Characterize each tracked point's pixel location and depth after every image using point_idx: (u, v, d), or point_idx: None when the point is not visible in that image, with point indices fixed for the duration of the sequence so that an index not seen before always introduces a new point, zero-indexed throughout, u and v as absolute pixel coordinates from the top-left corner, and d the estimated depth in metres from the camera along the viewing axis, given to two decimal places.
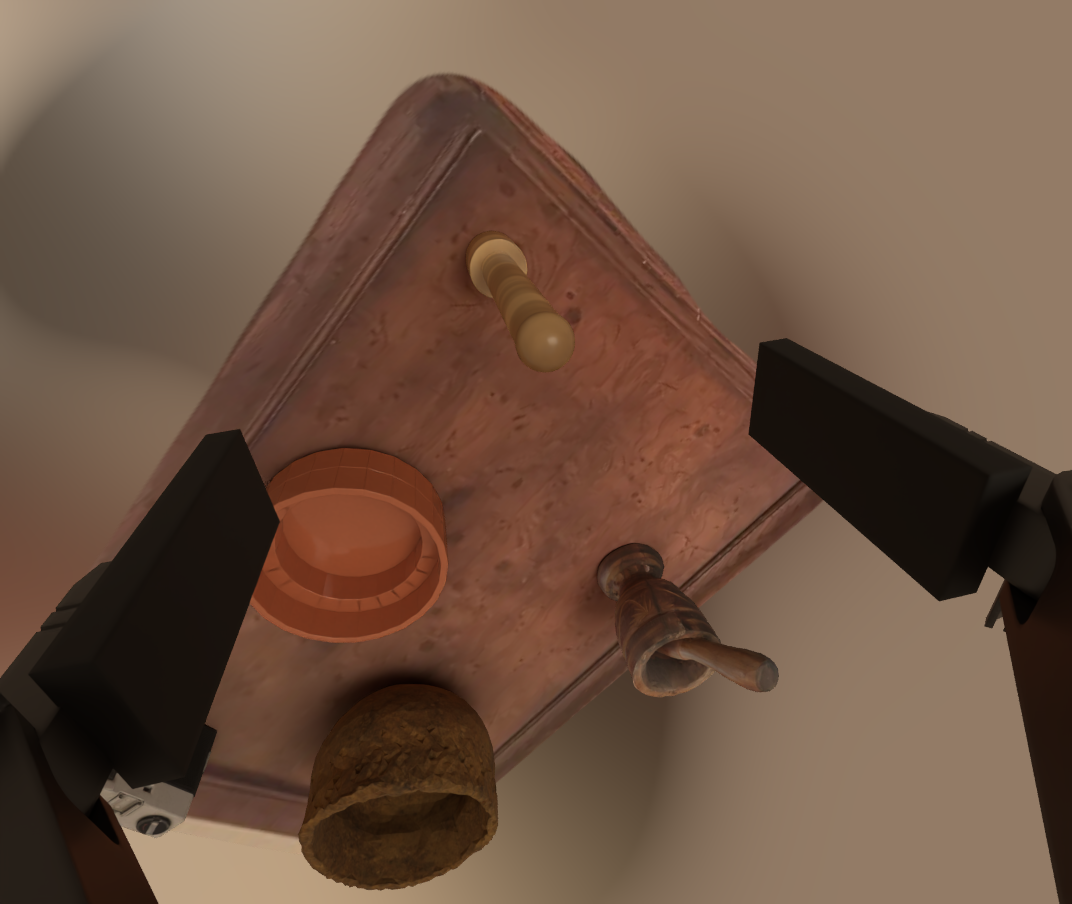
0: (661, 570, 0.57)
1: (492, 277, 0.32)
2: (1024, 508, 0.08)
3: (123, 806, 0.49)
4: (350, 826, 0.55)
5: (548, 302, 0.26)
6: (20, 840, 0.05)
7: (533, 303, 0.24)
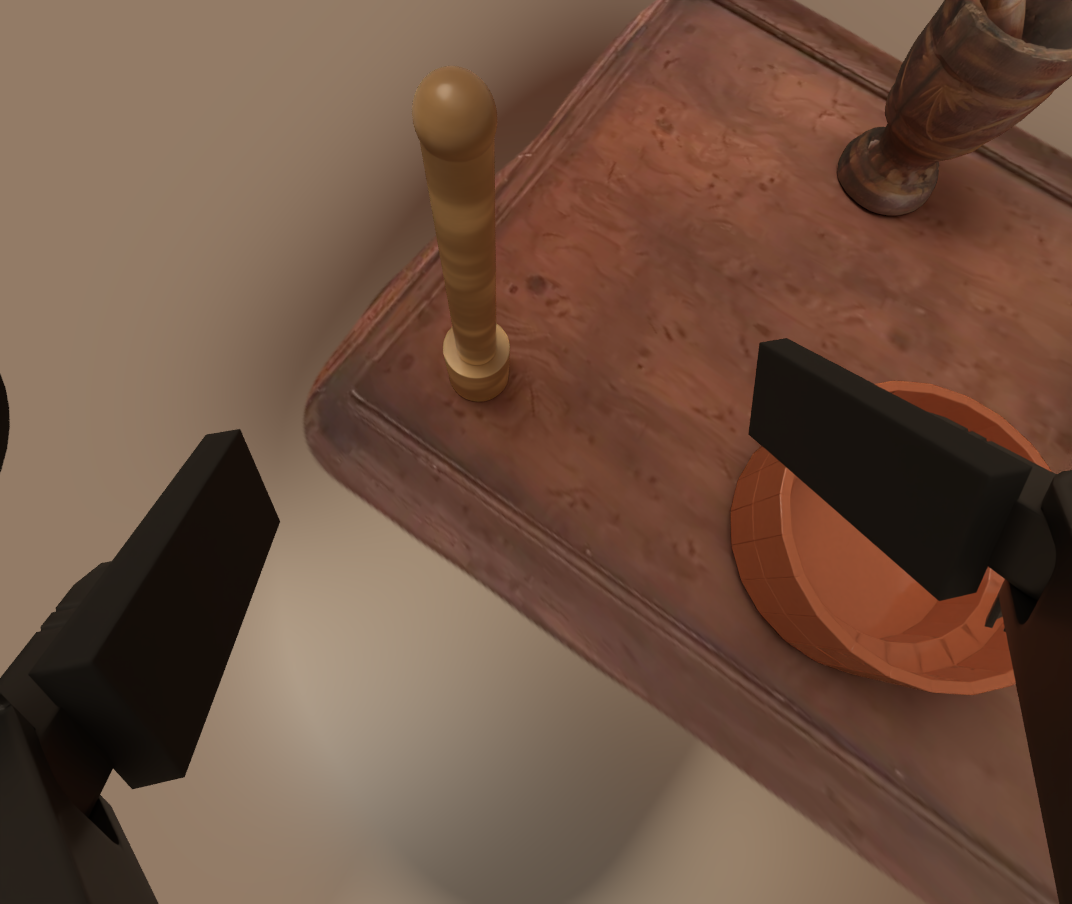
0: (875, 128, 0.41)
1: (461, 319, 0.26)
2: (1023, 508, 0.08)
3: None
4: None
5: None
6: (20, 840, 0.05)
7: (425, 172, 0.18)
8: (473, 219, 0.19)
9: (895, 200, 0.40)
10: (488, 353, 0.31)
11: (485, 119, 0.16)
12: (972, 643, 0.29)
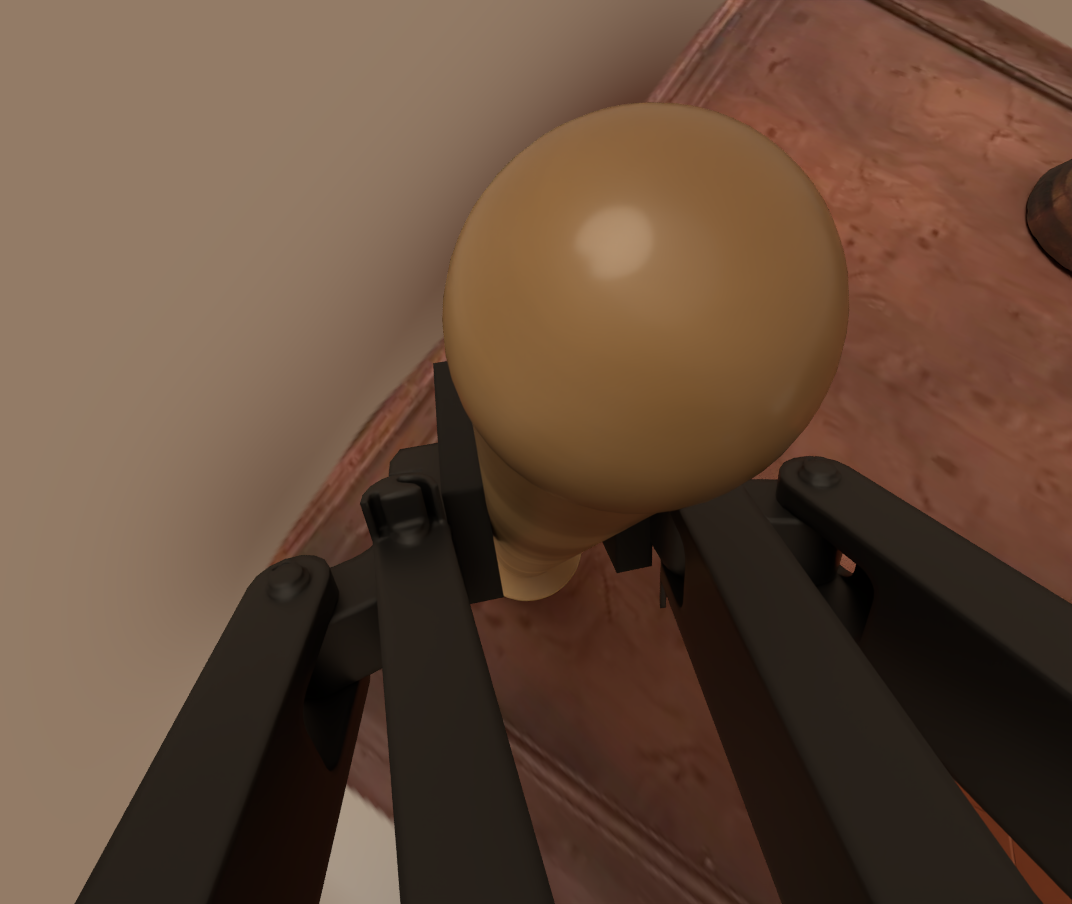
0: None
1: (517, 566, 0.14)
2: None
3: None
4: None
5: None
6: (451, 617, 0.07)
7: (477, 442, 0.05)
8: (610, 536, 0.07)
9: None
10: None
11: None
12: None
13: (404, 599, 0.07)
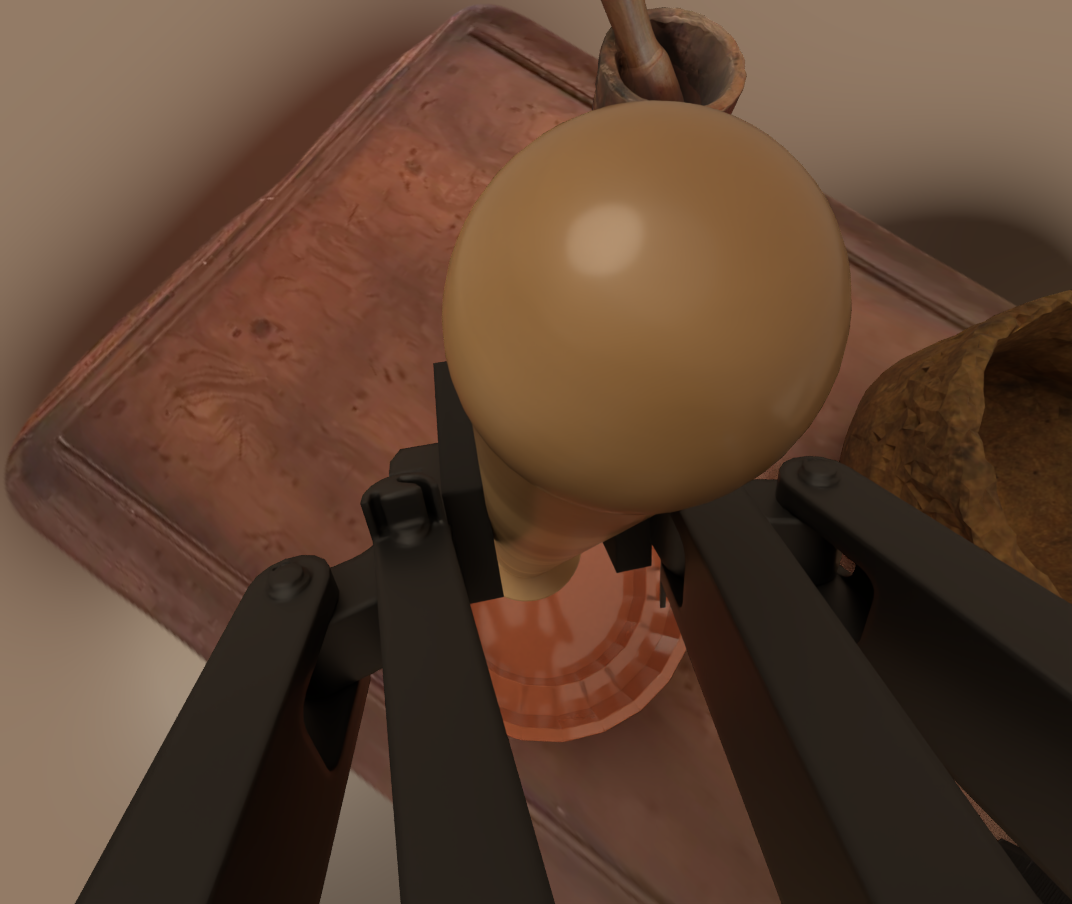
0: None
1: (517, 567, 0.14)
2: None
3: None
4: None
5: None
6: (451, 617, 0.07)
7: (476, 442, 0.05)
8: (610, 536, 0.07)
9: None
10: None
11: (829, 376, 0.03)
12: (611, 685, 0.30)
13: (404, 599, 0.07)
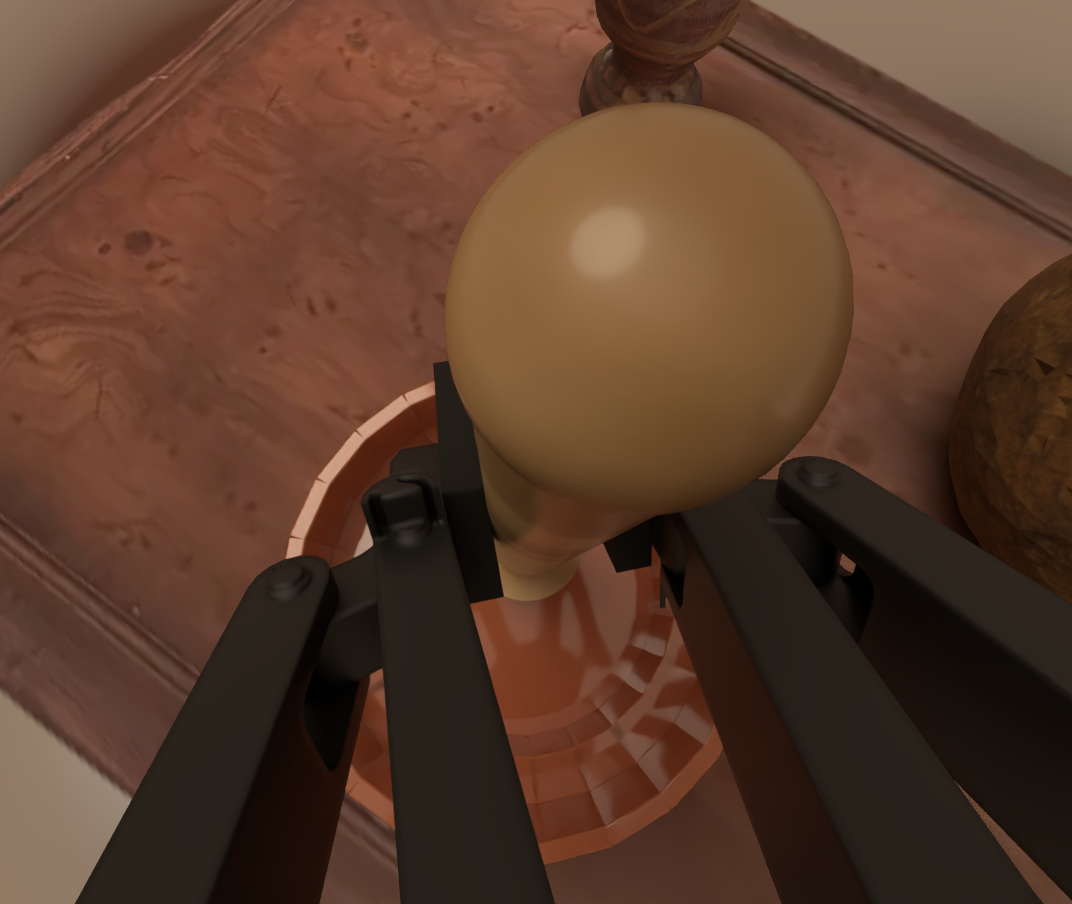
0: None
1: (517, 567, 0.14)
2: None
3: None
4: None
5: None
6: (451, 617, 0.07)
7: (478, 443, 0.05)
8: (611, 537, 0.07)
9: None
10: None
11: (831, 378, 0.03)
12: (623, 755, 0.20)
13: (405, 599, 0.07)
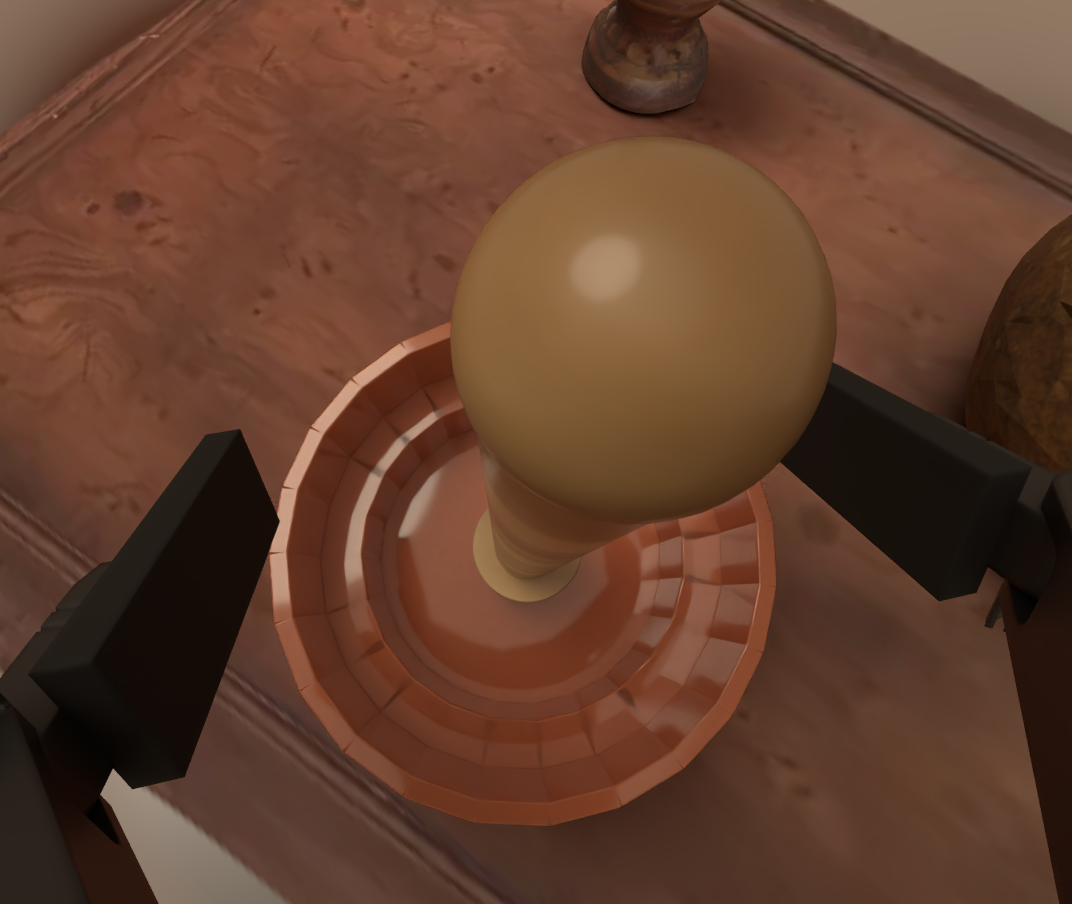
0: None
1: (519, 569, 0.14)
2: (1024, 508, 0.08)
3: None
4: None
5: None
6: (19, 840, 0.05)
7: (481, 451, 0.06)
8: (610, 541, 0.07)
9: (643, 89, 0.29)
10: None
11: (815, 395, 0.03)
12: (630, 719, 0.19)
13: None
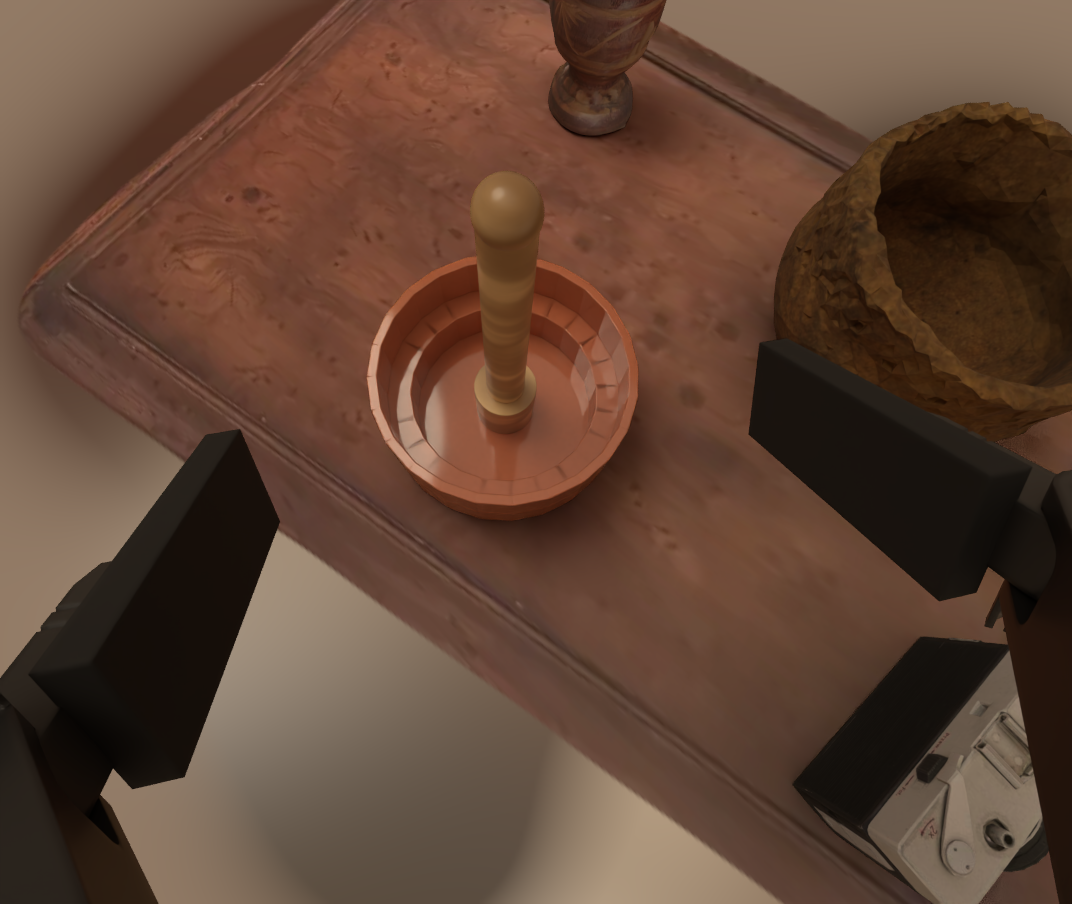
0: None
1: (496, 366, 0.29)
2: (1023, 508, 0.08)
3: (1019, 752, 0.26)
4: (1056, 371, 0.31)
5: None
6: (20, 840, 0.05)
7: (476, 253, 0.21)
8: (517, 291, 0.22)
9: (587, 119, 0.44)
10: (517, 393, 0.33)
11: (535, 217, 0.18)
12: (562, 481, 0.34)
13: None
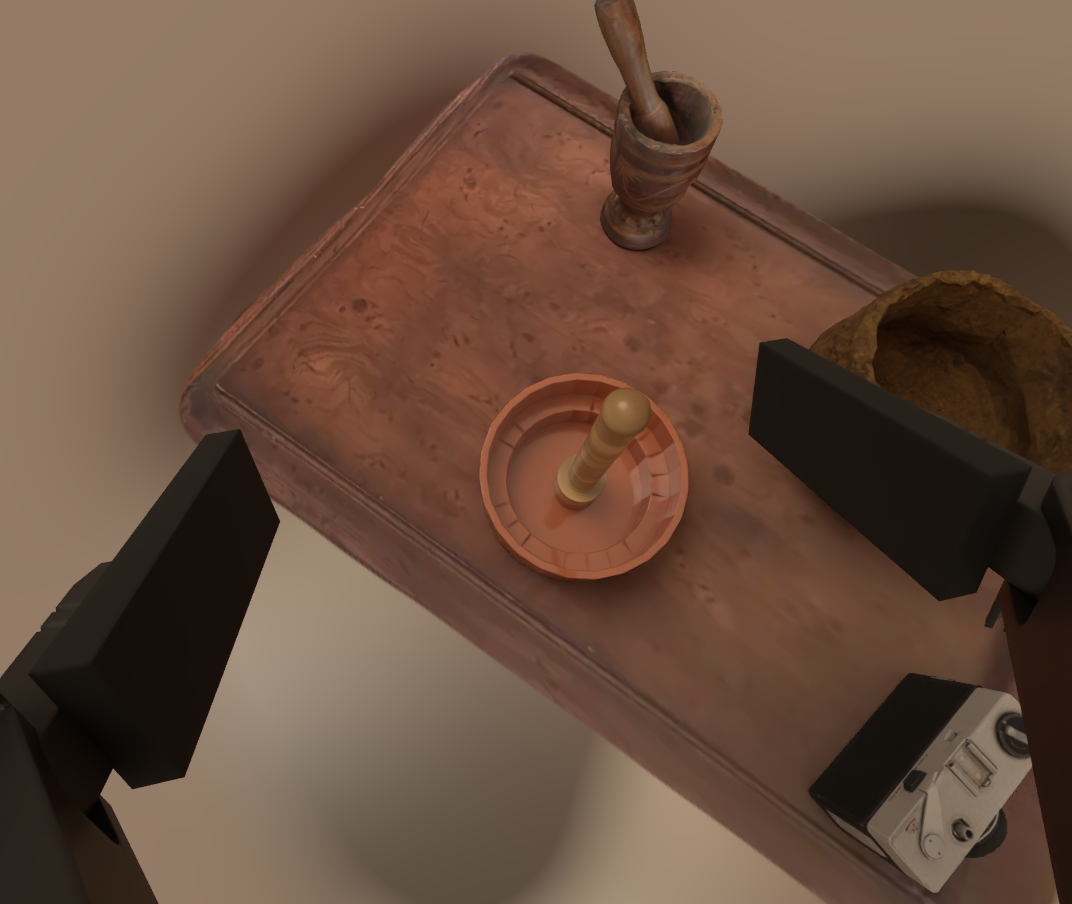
0: None
1: (586, 476, 0.38)
2: (1023, 508, 0.08)
3: (978, 769, 0.35)
4: None
5: None
6: (20, 840, 0.05)
7: (597, 428, 0.30)
8: (621, 449, 0.31)
9: (635, 239, 0.53)
10: (593, 486, 0.42)
11: (647, 420, 0.27)
12: (627, 553, 0.43)
13: None
